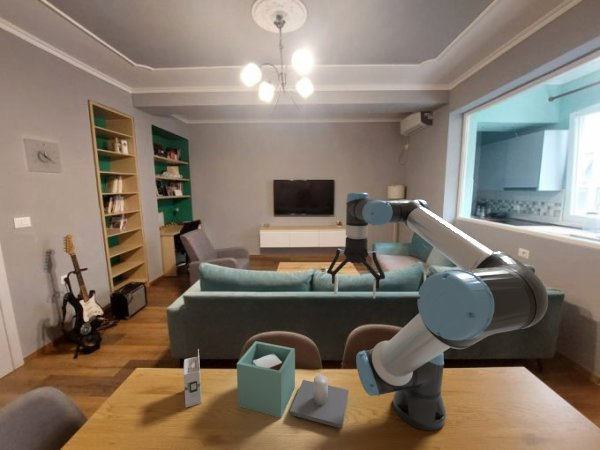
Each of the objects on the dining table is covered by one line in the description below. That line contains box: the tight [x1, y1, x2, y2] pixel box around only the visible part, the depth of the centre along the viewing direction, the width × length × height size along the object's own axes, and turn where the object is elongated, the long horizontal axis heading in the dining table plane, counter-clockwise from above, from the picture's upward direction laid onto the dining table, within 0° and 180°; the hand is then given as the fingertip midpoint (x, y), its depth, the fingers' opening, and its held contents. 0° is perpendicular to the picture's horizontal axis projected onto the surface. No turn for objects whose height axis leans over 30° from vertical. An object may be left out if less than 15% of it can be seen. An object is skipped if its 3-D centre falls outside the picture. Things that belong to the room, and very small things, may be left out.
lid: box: [289, 374, 350, 429], centre depth 85 cm, size 16×14×10 cm
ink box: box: [183, 348, 202, 408], centre depth 89 cm, size 8×5×15 cm, turn 22°
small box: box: [253, 353, 282, 370], centre depth 90 cm, size 8×6×13 cm
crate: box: [236, 340, 296, 419], centre depth 89 cm, size 15×13×15 cm
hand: (354, 294), depth 97 cm, fingers open, 13 cm apart
